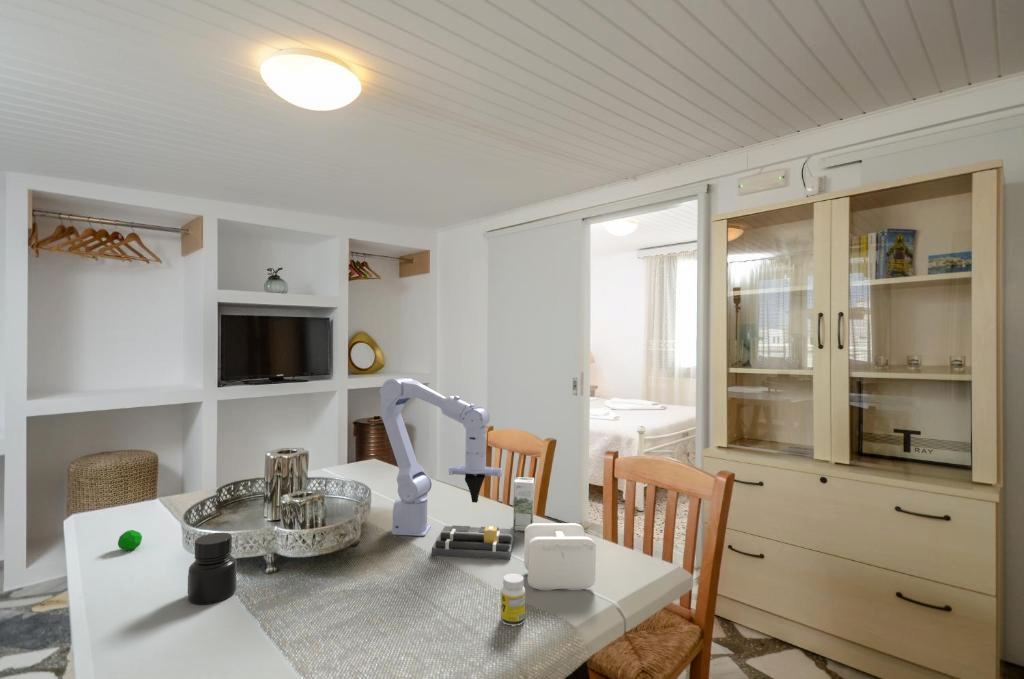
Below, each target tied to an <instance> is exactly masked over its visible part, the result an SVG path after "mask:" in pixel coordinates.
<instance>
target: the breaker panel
mask: <svg viewBox="0 0 1024 679" xmlns="http://www.w3.org/2000/svg"><path fill="white" fill-rule="evenodd" d="M485 527H486V526H480V527H476V526H475V527H473V526H470V525H452V526H451V525H444V527H443V528H442V530H441V531H440V534H438V537H437V538H436V540H435V541H434V543H433V545H432V547H431V556H432V557H447V558H448V557H449V558H469V559H485V560H487V559H488V560H505V561H507V560H509V561H511V557H512V552H513V548H514V543H515V539H516V538H515V537H516V531H515V529H513V528H499V527H497V526H496V527H497V531H500V534H510V535H511V536H512V540H511V541H510V542H498V543H497V544H508V545H509V546H510V549H509V550H508V551H498V550H496V552H493V550H478V549H457V548H449V549H448V550H447V549H445V548H437V547H436V546H435V545H436V541H446V540H447V539H441V538H440V536H441V533H442V531H452V529H456V532H475V533H484V529H485ZM453 542H474V543H484V541H473V540H453Z"/></svg>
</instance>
